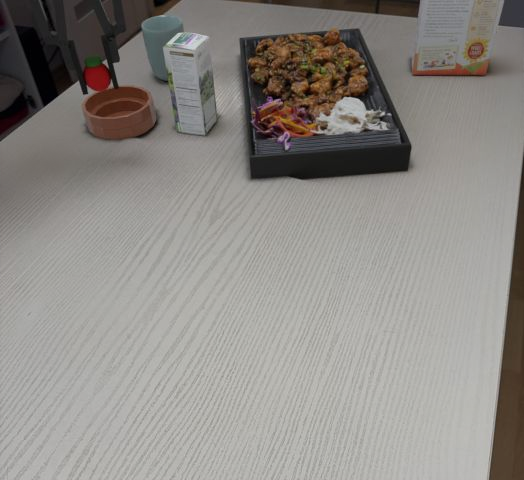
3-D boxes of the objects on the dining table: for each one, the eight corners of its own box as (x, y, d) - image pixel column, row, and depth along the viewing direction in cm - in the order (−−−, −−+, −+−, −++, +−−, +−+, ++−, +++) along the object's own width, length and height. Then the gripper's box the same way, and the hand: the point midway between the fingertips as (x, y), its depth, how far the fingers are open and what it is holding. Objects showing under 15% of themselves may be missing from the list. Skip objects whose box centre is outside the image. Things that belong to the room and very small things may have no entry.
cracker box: (482, 63, 108) (514, -67, 91) (485, 76, 104) (520, -56, 88) (410, 62, 109) (429, -65, 93) (410, 75, 106) (431, -55, 89)
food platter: (407, 170, 85) (418, 106, 77) (251, 183, 85) (246, 120, 77) (357, 51, 114) (362, -5, 106) (240, 60, 114) (236, 5, 106)
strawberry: (82, 93, 81) (72, 62, 78) (99, 81, 83) (90, 51, 80) (102, 98, 80) (93, 67, 76) (119, 86, 82) (112, 55, 78)
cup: (144, 77, 111) (133, 23, 103) (175, 64, 114) (166, 11, 106) (166, 89, 107) (156, 34, 99) (197, 75, 110) (190, 21, 103)
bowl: (75, 135, 97) (67, 110, 94) (117, 104, 104) (111, 80, 101) (129, 149, 93) (123, 124, 90) (169, 116, 100) (165, 92, 97)
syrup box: (189, 117, 100) (175, 31, 88) (219, 120, 98) (209, 34, 87) (176, 132, 96) (160, 45, 85) (206, 136, 95) (194, 48, 84)
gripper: (-33, -99, 60) (43, 109, 78) (120, -117, 62) (160, 89, 80) (-29, -113, 64) (42, 86, 82) (114, -129, 67) (152, 68, 85)
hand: (100, 87), depth 81 cm, fingers closed on strawberry, 4 cm apart
